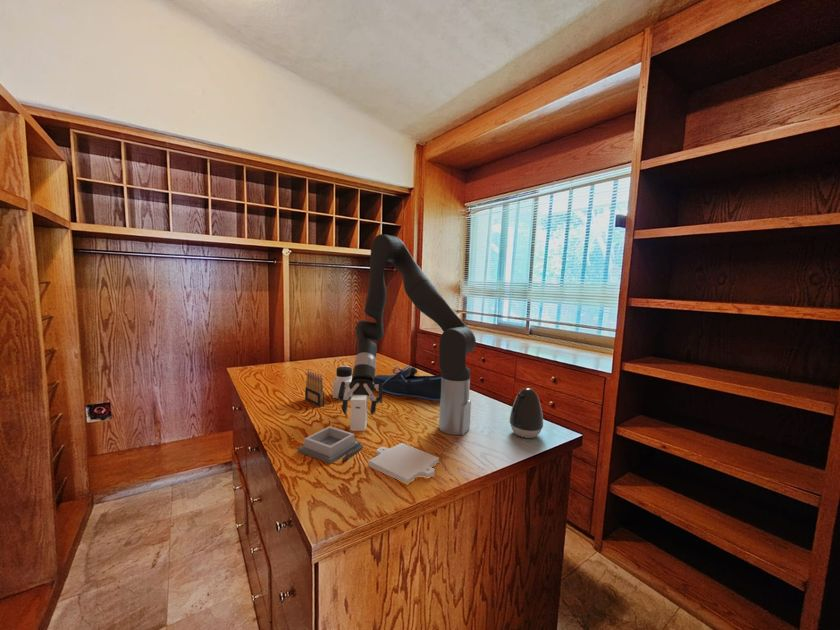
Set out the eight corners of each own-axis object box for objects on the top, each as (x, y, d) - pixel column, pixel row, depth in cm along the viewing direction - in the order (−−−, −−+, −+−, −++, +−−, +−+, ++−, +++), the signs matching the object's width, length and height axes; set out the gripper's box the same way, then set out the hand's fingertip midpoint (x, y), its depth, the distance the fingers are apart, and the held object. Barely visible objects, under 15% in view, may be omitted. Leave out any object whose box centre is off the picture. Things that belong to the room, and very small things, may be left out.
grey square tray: (360, 445, 98) (360, 433, 98) (330, 464, 88) (330, 450, 88) (329, 434, 104) (329, 423, 104) (297, 451, 94) (297, 439, 93)
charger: (366, 424, 112) (367, 395, 111) (364, 431, 108) (365, 400, 107) (352, 424, 112) (353, 394, 111) (350, 430, 108) (350, 399, 107)
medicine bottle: (350, 399, 136) (351, 369, 134) (332, 398, 136) (332, 369, 134) (354, 393, 143) (354, 365, 141) (337, 392, 143) (337, 364, 142)
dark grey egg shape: (501, 433, 110) (504, 386, 108) (520, 425, 116) (523, 381, 115) (530, 445, 102) (533, 395, 101) (548, 436, 109) (552, 389, 107)
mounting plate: (361, 464, 89) (361, 457, 89) (394, 446, 100) (395, 439, 99) (415, 491, 78) (416, 483, 78) (446, 468, 89) (447, 461, 89)
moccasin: (380, 383, 158) (381, 358, 157) (454, 392, 149) (455, 366, 147) (367, 392, 145) (368, 365, 143) (448, 403, 135) (449, 374, 134)
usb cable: (360, 446, 98) (361, 443, 98) (363, 447, 97) (363, 444, 97) (341, 461, 90) (341, 457, 89) (344, 462, 89) (344, 458, 89)
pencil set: (304, 399, 134) (304, 369, 132) (309, 398, 135) (309, 368, 134) (319, 407, 126) (320, 375, 125) (324, 406, 128) (324, 374, 127)
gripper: (342, 362, 116) (333, 407, 106) (384, 363, 116) (380, 409, 106) (345, 373, 122) (337, 417, 112) (385, 374, 122) (381, 418, 112)
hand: (358, 413), depth 109 cm, fingers open, 8 cm apart
